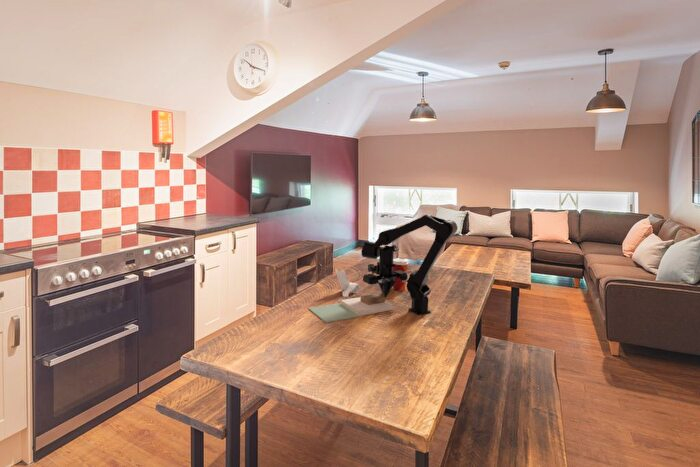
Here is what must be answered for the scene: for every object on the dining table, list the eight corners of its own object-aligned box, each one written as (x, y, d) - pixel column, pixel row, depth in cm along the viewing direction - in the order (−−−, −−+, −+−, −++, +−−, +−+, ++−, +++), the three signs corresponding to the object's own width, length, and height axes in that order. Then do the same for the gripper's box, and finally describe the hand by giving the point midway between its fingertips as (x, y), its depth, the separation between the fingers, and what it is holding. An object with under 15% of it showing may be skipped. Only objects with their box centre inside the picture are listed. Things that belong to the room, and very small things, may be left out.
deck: (392, 309, 165) (392, 305, 164) (357, 316, 157) (357, 311, 157) (373, 299, 177) (373, 295, 177) (340, 304, 169) (340, 300, 169)
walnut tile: (377, 298, 173) (377, 293, 172) (384, 302, 167) (385, 297, 167) (360, 300, 169) (360, 296, 168) (368, 305, 164) (368, 300, 163)
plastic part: (360, 292, 187) (361, 267, 185) (347, 297, 179) (348, 271, 177) (346, 289, 191) (347, 264, 190) (333, 294, 183) (334, 268, 181)
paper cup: (408, 291, 189) (409, 262, 187) (391, 291, 189) (392, 261, 187) (406, 286, 197) (407, 258, 194) (390, 286, 197) (391, 257, 194)
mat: (359, 316, 156) (359, 315, 156) (325, 322, 150) (325, 321, 150) (339, 304, 170) (339, 303, 170) (308, 308, 163) (308, 308, 163)
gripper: (394, 254, 180) (392, 289, 182) (356, 258, 171) (355, 294, 173) (409, 260, 170) (407, 296, 173) (370, 264, 161) (369, 302, 164)
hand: (384, 297), depth 171 cm, fingers closed
